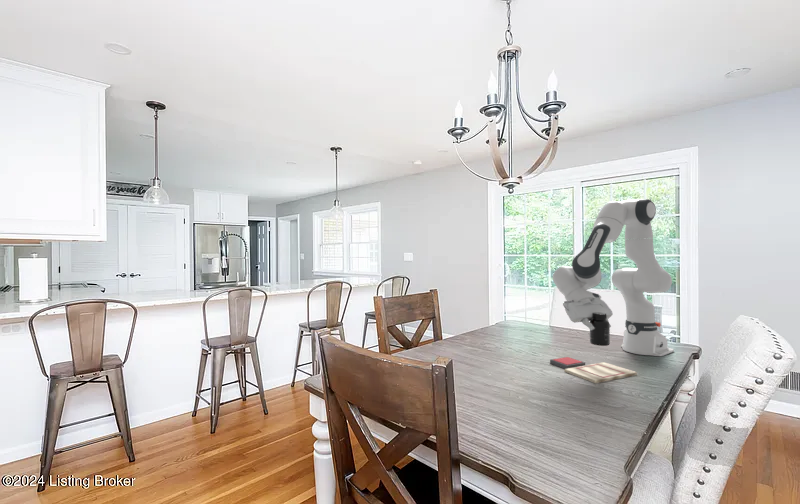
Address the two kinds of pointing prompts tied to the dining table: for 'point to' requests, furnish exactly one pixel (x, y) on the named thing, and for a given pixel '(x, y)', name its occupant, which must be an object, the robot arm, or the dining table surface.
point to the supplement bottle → (600, 330)
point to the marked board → (600, 372)
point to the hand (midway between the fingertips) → (601, 328)
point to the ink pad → (567, 362)
